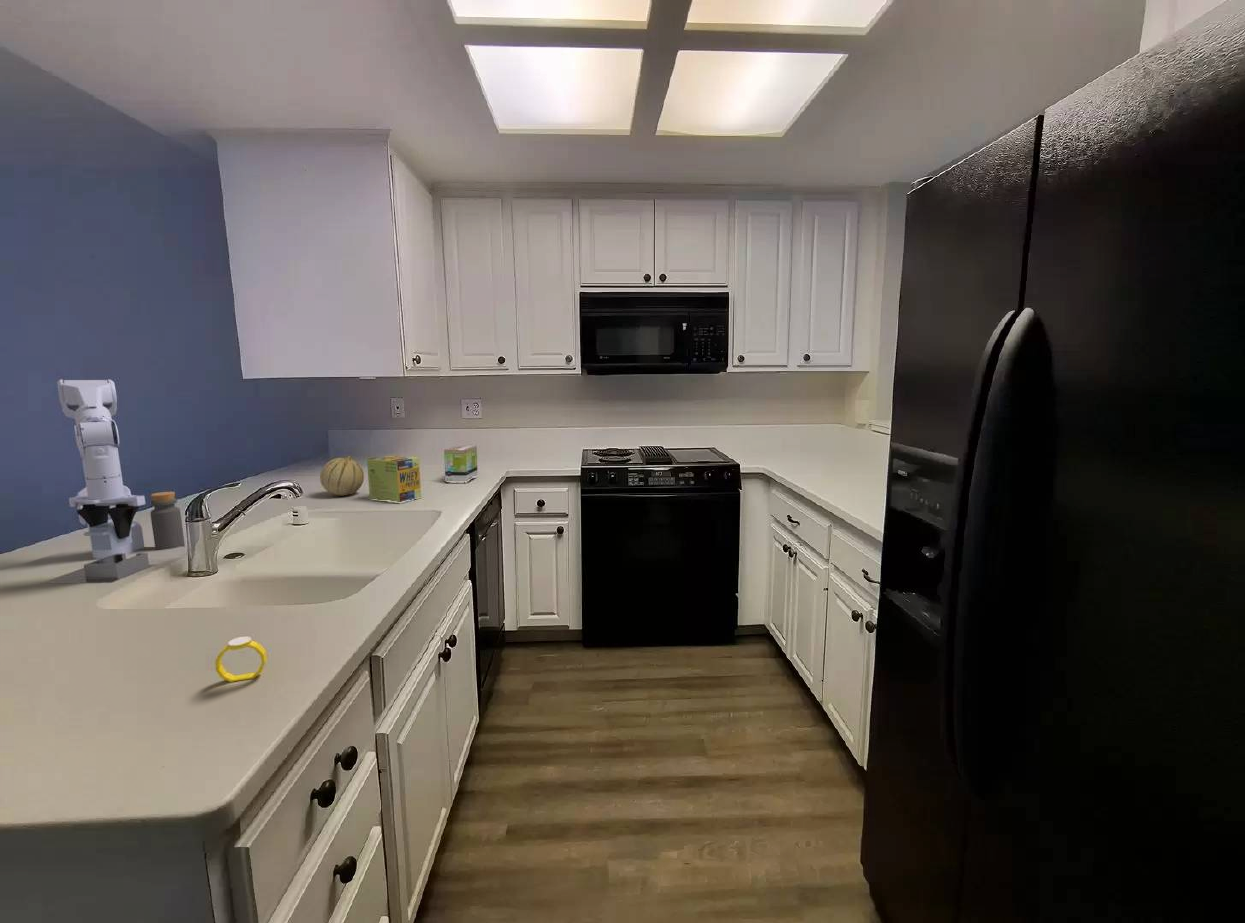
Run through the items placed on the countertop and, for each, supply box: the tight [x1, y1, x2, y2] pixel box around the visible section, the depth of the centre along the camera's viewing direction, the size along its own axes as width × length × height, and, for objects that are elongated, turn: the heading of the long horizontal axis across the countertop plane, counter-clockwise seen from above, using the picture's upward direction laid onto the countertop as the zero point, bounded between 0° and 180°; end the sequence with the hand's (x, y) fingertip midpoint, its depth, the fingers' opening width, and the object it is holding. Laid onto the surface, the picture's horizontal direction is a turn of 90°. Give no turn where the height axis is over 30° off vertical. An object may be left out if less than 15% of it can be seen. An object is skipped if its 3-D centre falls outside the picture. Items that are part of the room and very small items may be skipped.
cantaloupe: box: [319, 455, 365, 496], centre depth 202 cm, size 15×15×15 cm
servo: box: [83, 521, 135, 550], centre depth 116 cm, size 8×4×5 cm, turn 1°
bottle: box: [150, 491, 186, 551], centre depth 137 cm, size 6×6×15 cm
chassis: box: [39, 552, 155, 585], centre depth 118 cm, size 11×15×4 cm
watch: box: [215, 636, 268, 683], centre depth 77 cm, size 6×3×6 cm, turn 110°
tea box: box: [443, 445, 479, 482], centre depth 231 cm, size 15×10×15 cm
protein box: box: [366, 455, 422, 502], centre depth 195 cm, size 10×15×16 cm
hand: (113, 537), depth 117 cm, fingers closed on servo, 4 cm apart
